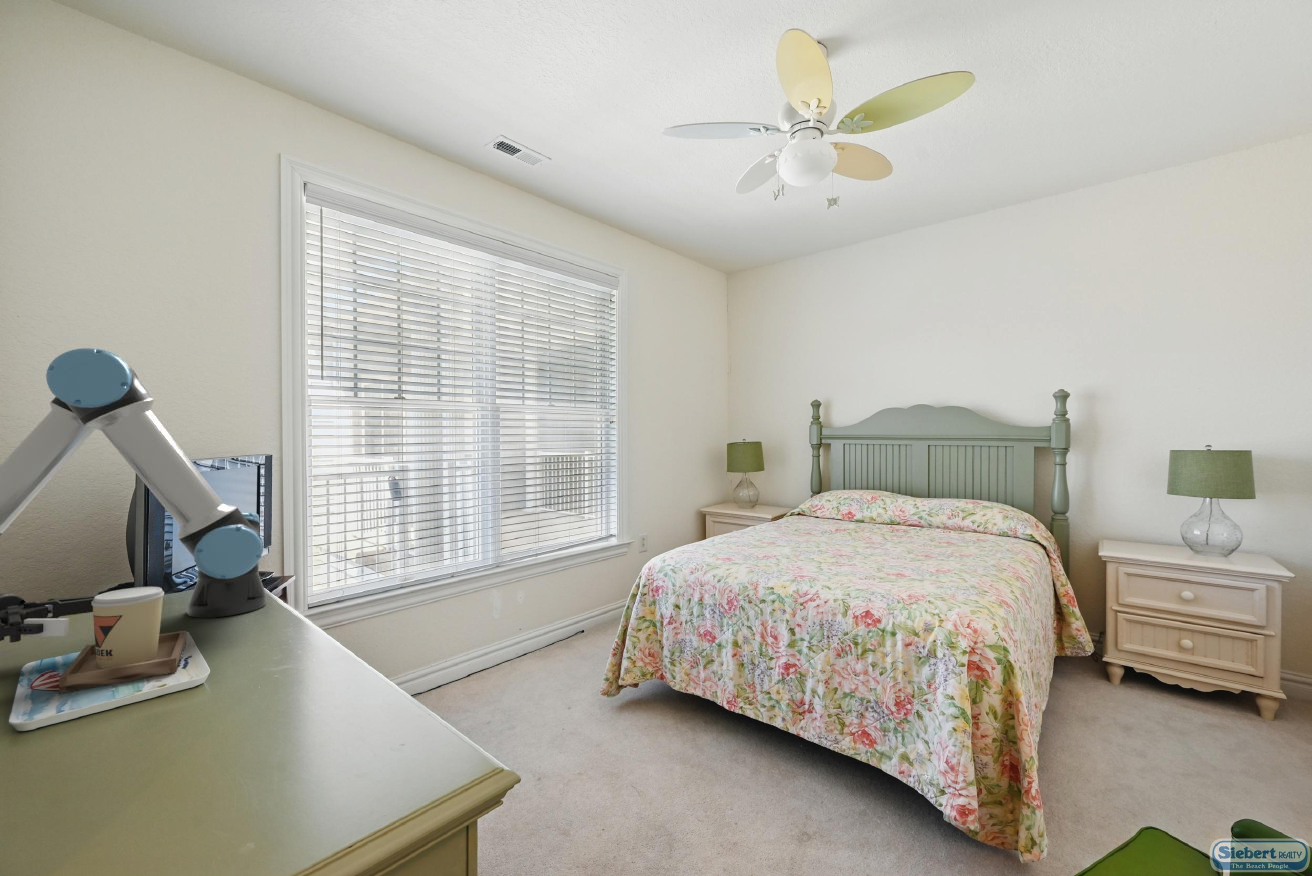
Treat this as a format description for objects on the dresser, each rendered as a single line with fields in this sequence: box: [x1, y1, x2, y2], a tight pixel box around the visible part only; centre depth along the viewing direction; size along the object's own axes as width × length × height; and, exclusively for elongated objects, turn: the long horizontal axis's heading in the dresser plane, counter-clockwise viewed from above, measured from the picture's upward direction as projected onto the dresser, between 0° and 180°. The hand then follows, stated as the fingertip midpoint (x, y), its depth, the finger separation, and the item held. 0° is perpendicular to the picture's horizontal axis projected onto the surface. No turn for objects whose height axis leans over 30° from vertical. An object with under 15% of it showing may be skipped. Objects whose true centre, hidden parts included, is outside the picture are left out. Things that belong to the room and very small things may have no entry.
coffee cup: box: [92, 586, 165, 669], centre depth 98 cm, size 9×9×12 cm
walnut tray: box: [58, 630, 187, 693], centre depth 98 cm, size 14×18×2 cm
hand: (106, 615), depth 98 cm, fingers open, 13 cm apart
